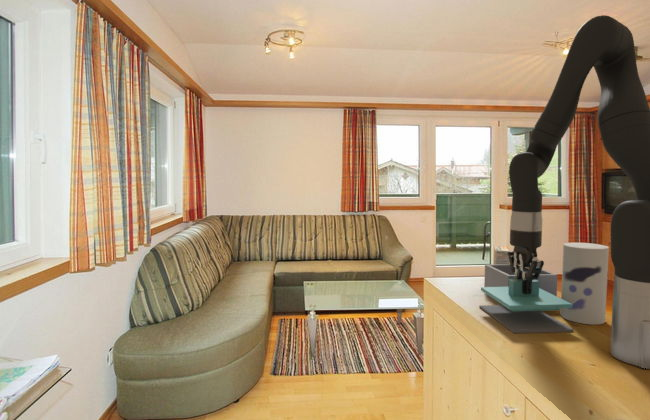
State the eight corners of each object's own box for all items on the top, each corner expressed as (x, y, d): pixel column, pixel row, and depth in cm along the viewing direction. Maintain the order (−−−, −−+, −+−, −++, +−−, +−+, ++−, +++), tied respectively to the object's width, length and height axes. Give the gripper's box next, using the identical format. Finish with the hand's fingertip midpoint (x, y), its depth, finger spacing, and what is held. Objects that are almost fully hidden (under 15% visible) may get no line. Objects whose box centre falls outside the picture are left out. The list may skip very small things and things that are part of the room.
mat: (573, 331, 95) (573, 329, 95) (514, 333, 94) (514, 330, 94) (529, 306, 114) (529, 304, 114) (479, 307, 113) (479, 305, 113)
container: (561, 321, 102) (565, 246, 100) (559, 309, 111) (562, 240, 109) (608, 327, 97) (612, 249, 96) (601, 315, 106) (605, 243, 104)
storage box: (556, 304, 115) (557, 274, 115) (507, 305, 115) (508, 275, 114) (527, 290, 130) (528, 263, 130) (484, 291, 130) (484, 264, 129)
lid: (572, 312, 96) (573, 288, 96) (509, 314, 96) (510, 289, 95) (534, 293, 112) (535, 272, 112) (480, 294, 112) (481, 273, 111)
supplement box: (492, 281, 142) (493, 245, 141) (506, 282, 141) (507, 246, 139) (494, 286, 134) (495, 249, 133) (509, 288, 133) (510, 250, 132)
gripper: (556, 231, 95) (553, 300, 97) (525, 224, 109) (522, 284, 111) (526, 232, 95) (524, 300, 97) (499, 225, 109) (497, 285, 110)
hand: (523, 291), depth 104 cm, fingers closed on lid, 2 cm apart
